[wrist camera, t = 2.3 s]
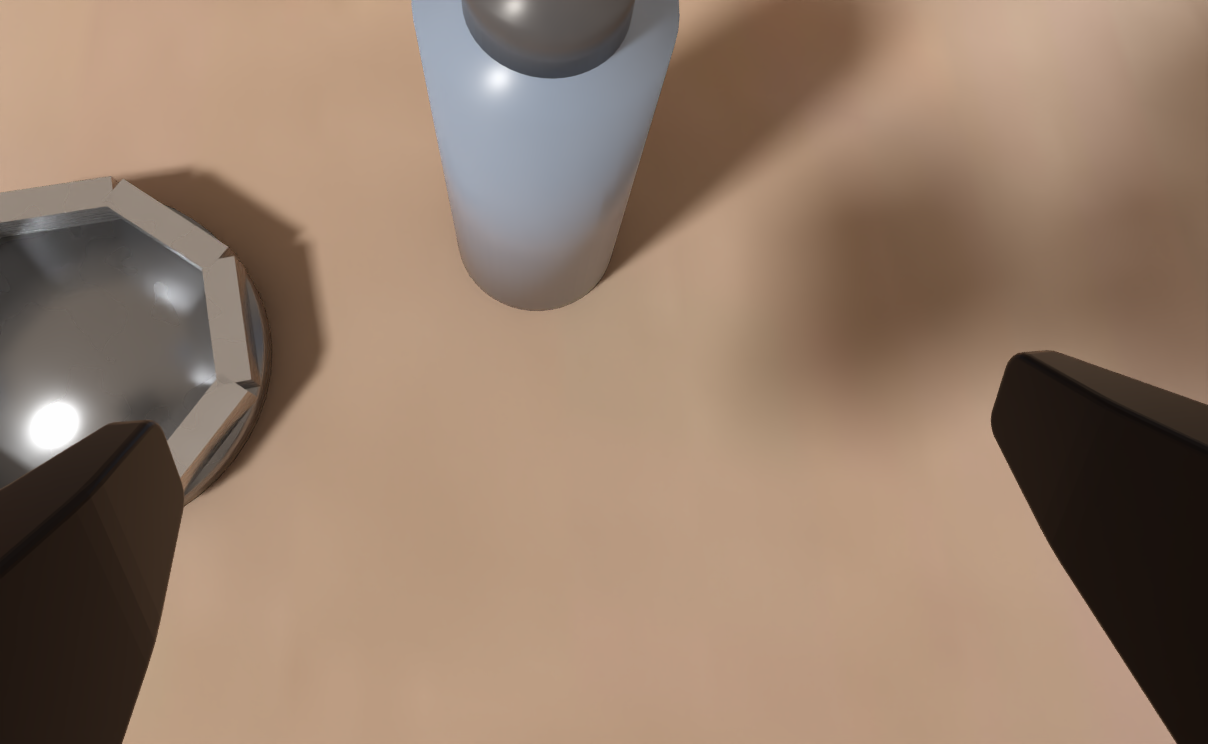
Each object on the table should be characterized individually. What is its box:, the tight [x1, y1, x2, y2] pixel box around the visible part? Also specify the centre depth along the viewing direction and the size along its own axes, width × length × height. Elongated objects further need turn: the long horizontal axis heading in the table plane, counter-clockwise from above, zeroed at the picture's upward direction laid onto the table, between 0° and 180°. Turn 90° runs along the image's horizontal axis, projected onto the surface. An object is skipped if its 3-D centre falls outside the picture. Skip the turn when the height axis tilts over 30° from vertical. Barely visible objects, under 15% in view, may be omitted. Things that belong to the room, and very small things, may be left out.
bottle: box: [412, 0, 679, 311], centre depth 18 cm, size 4×4×11 cm
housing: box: [0, 176, 272, 506], centre depth 20 cm, size 9×9×2 cm
